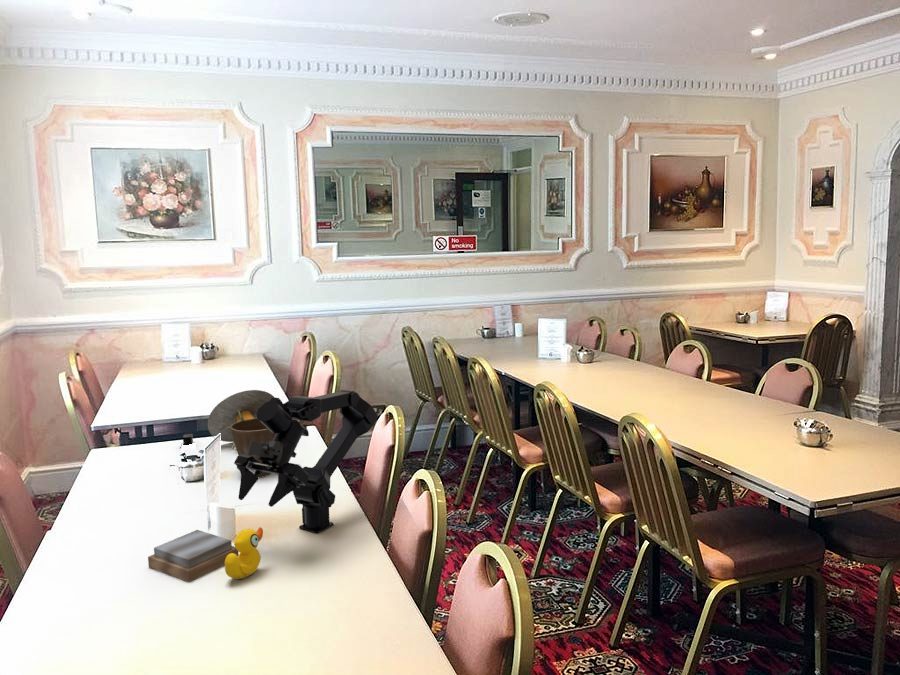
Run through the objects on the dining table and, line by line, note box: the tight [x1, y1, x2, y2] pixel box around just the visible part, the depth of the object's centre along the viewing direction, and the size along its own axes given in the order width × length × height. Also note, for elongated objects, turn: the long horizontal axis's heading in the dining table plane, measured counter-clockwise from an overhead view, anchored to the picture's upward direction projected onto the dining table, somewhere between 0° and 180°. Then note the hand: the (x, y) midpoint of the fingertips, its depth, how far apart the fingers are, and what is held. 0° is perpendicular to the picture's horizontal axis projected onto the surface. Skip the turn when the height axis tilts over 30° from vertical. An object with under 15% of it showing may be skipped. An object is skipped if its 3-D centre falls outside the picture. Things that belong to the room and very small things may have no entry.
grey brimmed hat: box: [207, 389, 275, 451], centre depth 263 cm, size 25×18×25 cm
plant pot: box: [231, 419, 276, 478], centre depth 235 cm, size 15×15×16 cm
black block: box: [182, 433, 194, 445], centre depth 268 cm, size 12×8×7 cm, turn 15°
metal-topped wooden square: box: [147, 529, 240, 583], centre depth 174 cm, size 14×14×4 cm
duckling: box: [224, 527, 264, 579], centre depth 168 cm, size 11×5×10 cm, turn 153°
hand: (254, 502), depth 174 cm, fingers open, 9 cm apart
